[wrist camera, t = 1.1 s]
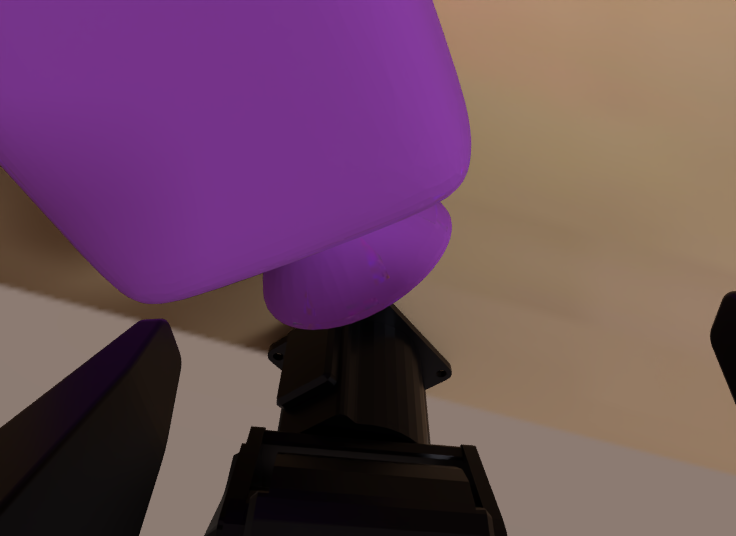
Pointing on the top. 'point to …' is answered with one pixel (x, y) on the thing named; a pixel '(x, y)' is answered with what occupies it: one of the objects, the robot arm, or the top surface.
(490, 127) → the top surface
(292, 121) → the toy camera
